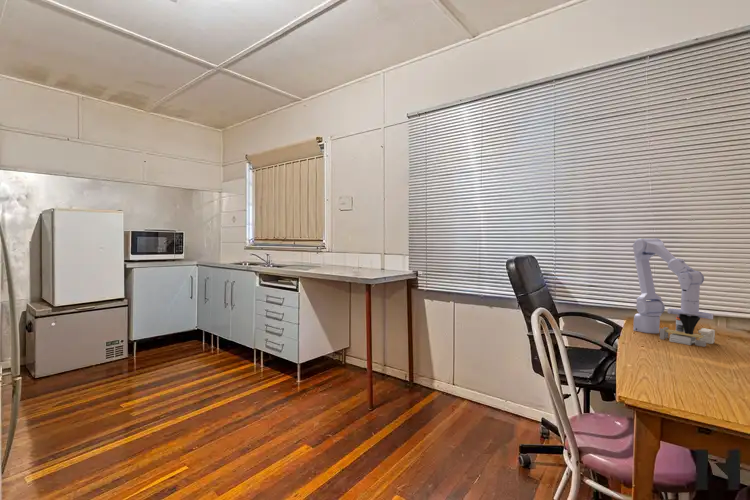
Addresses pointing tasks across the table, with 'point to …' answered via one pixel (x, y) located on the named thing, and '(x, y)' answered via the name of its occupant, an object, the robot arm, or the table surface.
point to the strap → (684, 333)
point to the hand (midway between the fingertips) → (688, 333)
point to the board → (665, 335)
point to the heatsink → (682, 339)
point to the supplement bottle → (679, 324)
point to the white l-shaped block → (707, 335)
